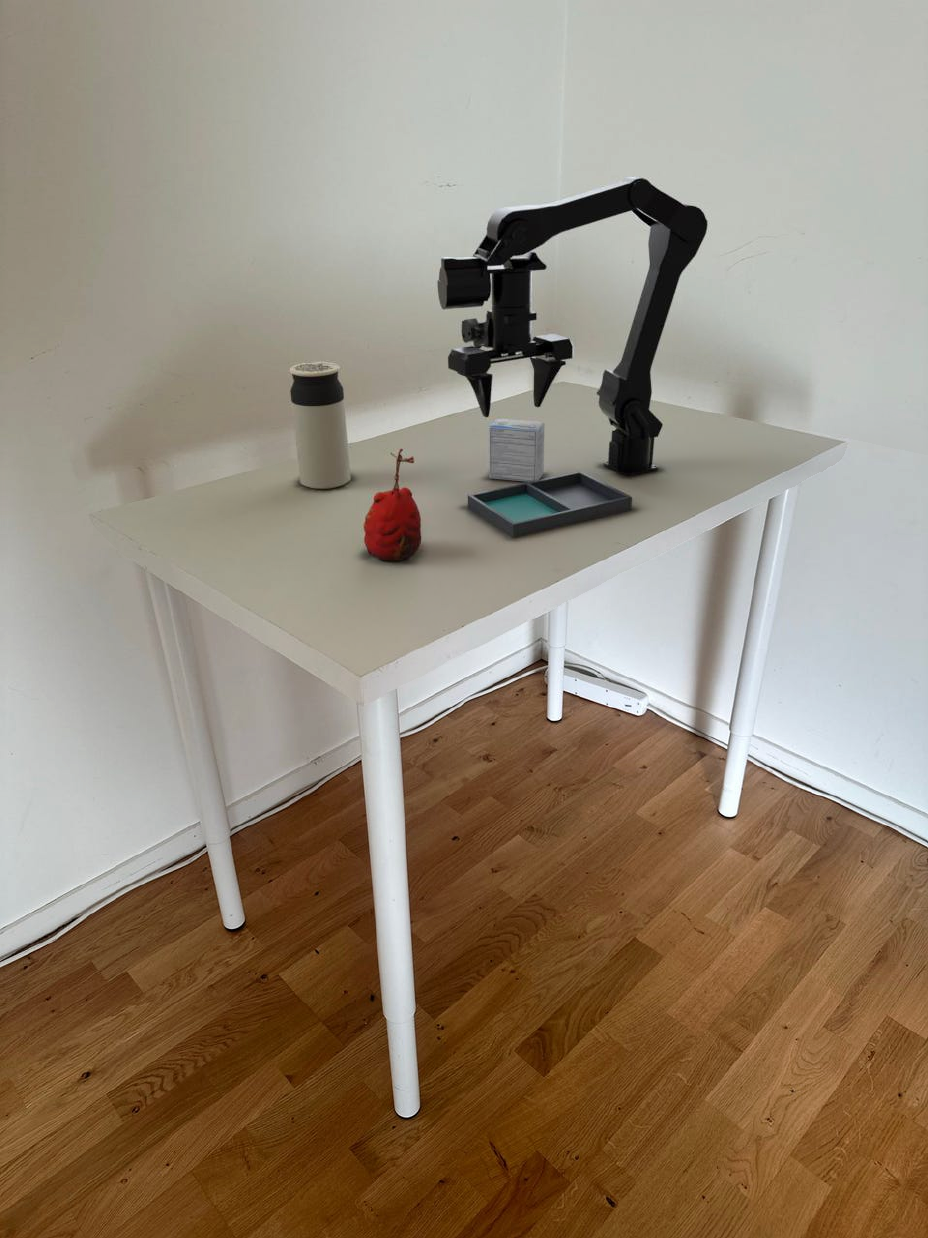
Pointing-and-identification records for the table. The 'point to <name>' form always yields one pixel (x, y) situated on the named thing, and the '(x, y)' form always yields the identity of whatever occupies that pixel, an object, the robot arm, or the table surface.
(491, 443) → the medicine box
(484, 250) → the robot arm
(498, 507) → the organiser tray
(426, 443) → the table surface
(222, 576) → the table surface
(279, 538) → the table surface
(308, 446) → the travel mug
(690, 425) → the table surface
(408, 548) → the red lumpy rounded piece
